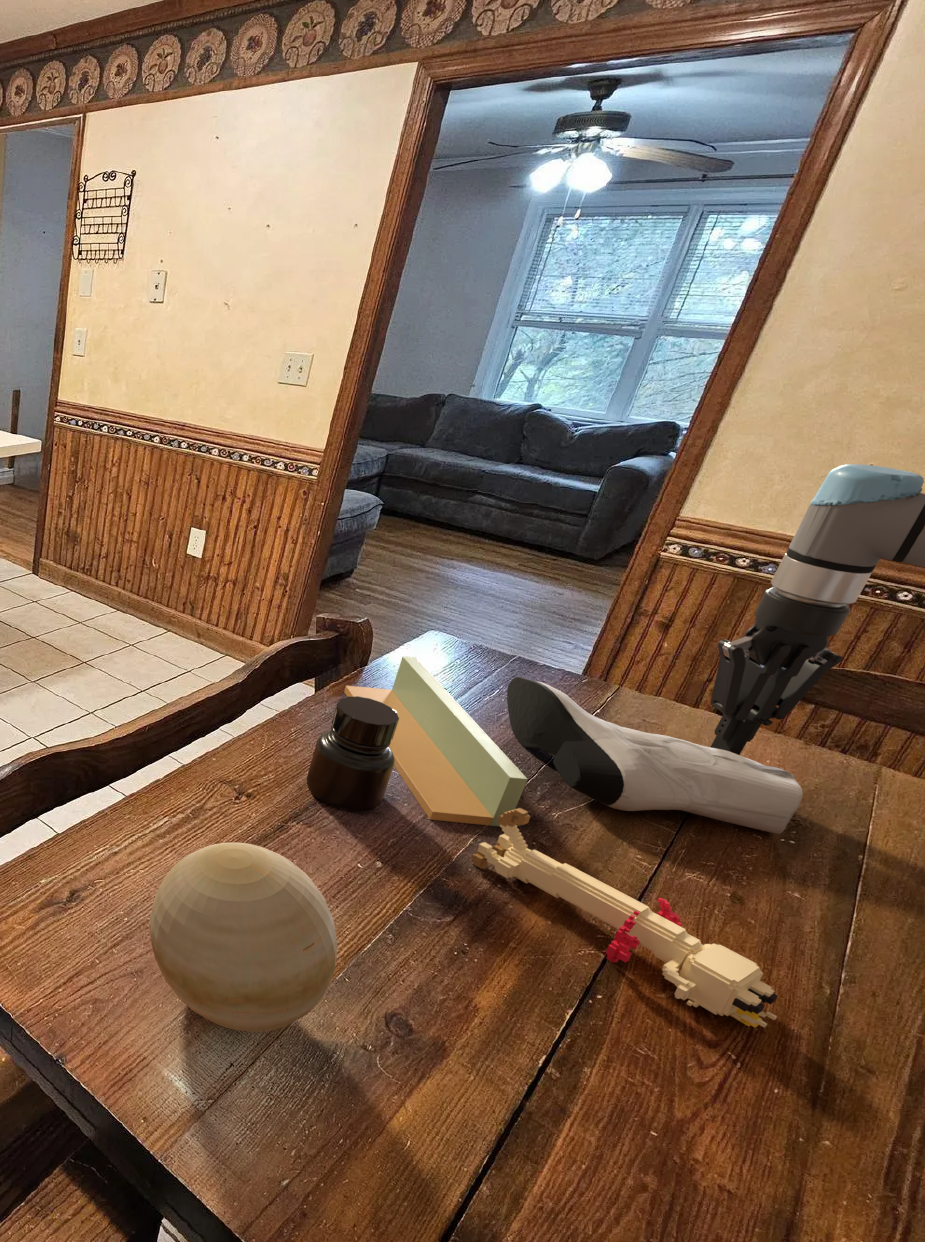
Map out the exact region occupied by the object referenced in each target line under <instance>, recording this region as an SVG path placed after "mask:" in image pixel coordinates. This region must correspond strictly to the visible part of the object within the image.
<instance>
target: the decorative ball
mask: <svg viewBox="0 0 925 1242" xmlns="http://www.w3.org/2000/svg"><path fill="white" fill-rule="evenodd" d="M149 935H150V942H151V947H152V951H153V955H154V959H155V961H156V963H157V966H158V968H159V971H160V972H161V974H162V976H163V978H164V980H165V981H166V983H167V985H169V987H170V989H171V990H172V991H173V992H174V994H175V995H176V996H177V998H179V999H180V1000H181V1002H182V1003H183V1004H185V1005H186V1006H187V1007H188V1009H190V1010H191V1011H193V1012H195V1014H198V1015H199V1016H201V1017H203V1018H205V1019H206V1020H207V1021H210V1022H211V1023H213V1024H216V1025H218V1026H220V1027H223V1028H225V1029H226V1028H227V1029H230V1030H234V1031H238V1032H248V1033H260V1032H261V1033H262V1032H263V1033H264V1032H269V1031H274V1030H279V1029H281V1028H284V1027H287V1026H289V1025H291V1024H293V1023H296V1022H297V1021H298V1020H300V1019H302V1018H303V1017H304V1016H306V1015H308V1014H309V1013H310V1012H311V1011H312V1010H313V1009H314V1008H315V1007H316V1006H317V1004H318V1003H320V1001H321V999H322V998H323V997H324V996H325V994H326V992H327V990H328V989H329V987H330V985H331V982H332V979H333V977H334V974H335V971H336V964H337V957H338V947H339V946H338V938H337V931H336V927H335V920H334V917H333V915H332V913H331V910H330V908H329V906H328V904H327V901H326V899H325V897H324V895H323V893H322V892H321V891H320V890H319V888H318V887H317V885H316V884H315V883H314V881H313V880H312V879H311V878H310V876H309V875H308V874H307V873H306V872H304V871H303V870H302V869H301V868H300V867H299V866H297V865H296V863H294V862H293V861H291V860H290V859H289V858H287V857H285V856H283V855H282V854H280V853H277V852H275V851H273V850H270V849H268V848H266V847H263V846H260V845H256V844H252V843H247V842H246V843H245V842H231V841H230V842H220V843H214V844H211V845H207V846H204V847H202V848H200V849H197V850H196V851H193V852H192V853H189V854H187V855H185V856H184V857H183V858H181V859H180V860H179V861H178V862H177V863H176V864H175V865H174V866H173V867H172V868H171V869H170V870H169V872H167V873H166V874H165V876H164V878H163V879H162V882H161V884H160V885H159V887H158V889H157V891H156V893H155V895H154V899H153V903H152V907H151V911H150V917H149Z"/></svg>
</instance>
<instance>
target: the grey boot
mask: <svg viewBox="0 0 925 1242" xmlns="http://www.w3.org/2000/svg"><path fill="white" fill-rule="evenodd" d="M506 702H507V712H508V717H509V723H510V727H511V730H512V734H513V736H514V737H515V739H516V741H517V740H518V741H517V742H518V743H519V744H520V745H521V746H523V747H525V748H529V749H532V750H533V749H534V750H537V751H538V750H539V751H544V752H546V753H548V754H549V755H551V756H552V757H554V759H553V761H552V763H553V765H554V767H555V769H556V771H557V772H558V774H559V775H560V776H561V777H562V779H563V781H564V782H565V784H567V785H568V786H570V787H571V788H572V789H574V790H576V791H578V792H580V793H581V794H583V795H584V796H587V797H589V798H591V799H593V800H595V801H596V802H599V803H601V804H603V805H604V806H606V807H609V808H612V809H615V810H619V811H625V812H639V811H654V810H656V811H671V810H672V811H675V810H676V811H683V812H687V813H690V814H693V815H698V816H701V817H706V818H709V819H713V820H717V821H720V822H725V823H729V824H733V825H737V826H742V827H746V828H750V829H754V830H759V831H763V832H767V833H772V834H775V835H781V834H782V833H783V832H784V831H785V830H786V828H787V826H788V824H789V822H790V821H791V820H792V818H793V816H795V813H796V812H797V811H798V809H799V807H800V805H801V802H802V799H803V788H802V786H801V785H800V784H799V783H798V782H797V780H796V779H795V775H793V774H792V773H791V772H789V771H787V770H785V769H782V768H781V767H776V766H769V765H765V764H762V763H761V762H758V761H756V760H752V759H751V758H748V757H745V756H743V755H741V754H740V755H737V754H735V753H732V752H729V751H726V750H722V749H716V748H710V747H711V746H706V745H701V744H698V743H693V742H691V741H688V740H686V739H681V738H678V737H673V736H669V735H663V734H659V733H650V732H646V731H641V730H638V729H637V730H636V729H634V728H629V727H625V726H620V725H618V724H616V723H614V722H610V721H607V720H604V719H601V718H600V717H597V716H595V715H593V714H591V713H589V712H588V711H586V710H585V709H584V708H582V707H581V706H580V705H579V704H578V703H576V702H575V701H574V700H573V699H572V698H571V697H569V695H567V694H566V693H564V692H563V691H561V690H559V689H557V688H555V687H553V686H551V685H549V684H547V683H545V682H541V681H537V680H534V679H531V678H527V677H519V676H516V677H514V678H512V679H511V680H510V682H509V683H508V686H507V689H506Z"/></svg>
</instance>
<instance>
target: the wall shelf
mask: <svg viewBox="0 0 925 1242" xmlns="http://www.w3.org/2000/svg"><path fill="white" fill-rule="evenodd" d="M343 692H344V694H345V697H348V696H349V697H356V696H359V697H364V698H370V699H373V700H376V701H379V702H382V703H383V704H385V705H387V706H389V707H391V708H392V709H393V710H394V711H395V712H397V714H398V717H399V721H398V724H397V727H396V730H395V733H394V736H393V739H392V740H391V744H390V746H389V748H390V749H391V751H392V752H393V755H394V758H395V763H394V767H393V768H394V769H395V770H396V771H397V773H398V775H399V776H400V777H401V779H402V781H403V782H404V784H405V785H406V786H407V788H408V789H409V790H410V792H411V793H412V795H413V797H414V799H416V801H417V802H418V804H419V806H420V807H421V808H422V810H423V811H424V813H425V814H426V817H428V819H429V820H431V821H440V822H450V823H460V824H461V823H462V824H472V825H481V826H491V827H500V824H499V823H498V820H499V817H500V816H501V815H503V814H504V812H507V811H510V810H514V809H517V806H518V804H519V801H520V799H521V796H522V795H523V792H524V790H525V787H526V785H527V782H528V780H529V779H528V778H527V776H526V775H525V774H523V772H522V771H521V770H520V769H519V768H518V767H517V766H516V764H515V763H514V762H513V761H512V760H511V759H510V758H509V757H508V755H506V754H505V752H503V750H501V748H500V747H499V746H498V745H497V744H496V742H495V741H493V739H491V737H490V736H489V735H488V734H487V733H486V732H485V731H484V730H483V729H482V727H481V726H479V724H478V723H477V722H476V721H475V720H474V719H473V718H472V717H471V716H470V715H469V713H468V712H467V711H465V709H464V708H463V707H462V706H461V705H460V704H459V703H458V701H456V700H455V698H454V697H453V696H452V694H450V693H449V691H447V690H446V689H445V688H444V686H443V685H442V684H441V683H440V682H439V681H438V679H436V678H435V676H434V675H432V673H431V672H430V670H428V669H427V668H426V666H424V665H423V663H422V662H421V661H420V660H419V659H418V658H417V657H416V656H415V657H414V656H402V657H401V660H400V663H399V666H398V669H397V673H396V676H395V679H394V682H393V685H392V689H389V688H380V687H379V688H378V687H368V686H367V687H365V686H355V685H345V688H344V690H343Z"/></svg>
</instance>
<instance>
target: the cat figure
mask: <svg viewBox="0 0 925 1242" xmlns="http://www.w3.org/2000/svg"><path fill="white" fill-rule="evenodd" d="M530 818H531V815H529V811H527V810H526V809H524V808H521V807H518V808H515V809H514V810H510V811H507V812H504V814H503V815H501V816H500V817H499V820H498V823H499V824H500V826H499V828H501V831H502V832H503V834H500V835H499V836H498V839H497V842H496V844H495V845H491V844H489V843H487V842H485V841H483V842H481V843H478V847H477V850H476V852H475V853H473V854H472V857H471V860H470V861H471V863H473V866H475V867H477V868H479V869H480V870H483V869H485V868H487V866H488V864H490V865H492V866H494V868H493V869H494V870H495V872H496V873H497V875H500V876H502V877H504V878H505V879H513V878H516V879H518V880H519V881H521V882H523V883H525V884H531V885H533V886H535V887H536V888H538V889H540V890H542V891H544V892H545V893H547V894H549V895H551V896H552V897H554V898H556V899H560V898H561V899H563V900H565V901H567V902H568V903H570V904H572V905H573V906H575V907H577V908H579V909H581V910H582V911H584V912H586V913H587V914H590V915H592V916H593V917H595V918H597V919H598V920H600V921H602V922H604V923H605V924H607V925H609V926H611V927H612V928H615V929H616V932H615V935H614V938H613V940H611V942H610V944H608V946H607V947H606V948H607V949H606V951H605V954H606V960H608V961H610V962H612V963H615V964H617V963H618V962H619V960H620V961H622V962H623V963H627V962H629V961H630V959H631V958H632V957H631V956H632V955H633V952H631V949H633V950H636V949H637V948H638V946H641V947H643V948H644V949H647V950H648V951H650V952H652V954H653V956H654V957H655V958H657V959H658V960H661V961H662V962H663V963H664V964H663V966H662V968H661V971H662V973H661V975H662V976H664V979H665V980H667V981H669V982H670V983H672V984H674V986H676V989H675V991H674V993H673V994H674V998H675V999H676V1000H677V999H678V1000H680V999H681V1000H682V1001H685V1000H688V1001H686V1005H687V1006H689V1007H691V1006H692V1007H694V1008H698V1007H699V1006H700V1007H702V1008H704V1009H705V1010H707V1011H709V1012H710V1013H711V1014H714V1015H715V1016H716V1015H718V1016H721V1017H724V1016H726V1017H729V1016H730V1017H731V1018H733V1019H735V1020H736V1021H738V1022H740V1023H742V1024H744V1025H745V1026H747V1027H753V1028H754V1029H755V1028H757V1027H758V1026H760V1027H762V1028H766V1027H767V1026H768V1022H765V1021H764V1020H763V1018H766V1017H767V1018H770V1019H771V1020H773V1021H775V1020H776V1019H777V1018H778V1016H777V1015H775V1014H773V1013H772V1012H771V1011H769V1010H768V1011H767V1012H765V1011H763V1010H764V1008H765V1007H766V1005H765V1003H766V1004H768V1005H772V1004H774V1003H775V1002H776V1001H777V999H778V997H779V996H778V995H777V994H775V993H776V990H775V989H773V986H770V985H769V984H767V983H765V982H763V981H762V980H761V979H762V977H763V975H764V973H763V971H762V970H761V967H760V966H758V963H757V962H754V961H752V960H750V959H749V958H747V957H745V956H744V955H741V954H740V953H737V952H736V951H733V950H732V949H730V948H728V947H726V946H723V945H722V944H720V943H719V944H716V943H712V944H710V943H704V944H703V943H702V942H701V939H699V938H697V937H695V936H693V935H691V934H689V933H688V932H687V930H686V928H684V927H682V926H683V923H682V922H681V917H680V916H679V914H678V913H676V912H674V911H673V909H672V908H671V907H672V906H671V903H670V902H669V900H667V899H666V898H662V897H658V898H657V900H656V901H657V902H658V903H659V905H658V906H659V907H660V908H659V909H660V910H659V911H657V912H656V913H655V912H654V911H652V910H651V908H650V906H648V905H646V904H645V903H643V902H640V901H639V900H637V899H635V898H633V897H631V896H629V895H627V894H626V893H623V892H621V891H620V890H618V889H616V888H614V887H612V886H610V885H608V884H607V883H604V882H602V881H601V880H599V879H597V878H595V877H593V876H591V875H589V874H588V873H585V872H583V871H581V870H580V869H578V868H576V867H575V866H572V865H570V864H568V863H566V862H564V863H561V862H559V861H557V860H555V859H554V858H551V857H550V856H549V855H546V854H544V853H542V852H540V851H539V850H537V849H530V848H528V846H529V845H528V844H527V843H526V842H527V841H526V840H525V839H524V836H523V835H522V832H520V829H519V828H518V826H519V827H521V826H525V825H527V824H529V822H530ZM678 972H679V973H678Z"/></svg>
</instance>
